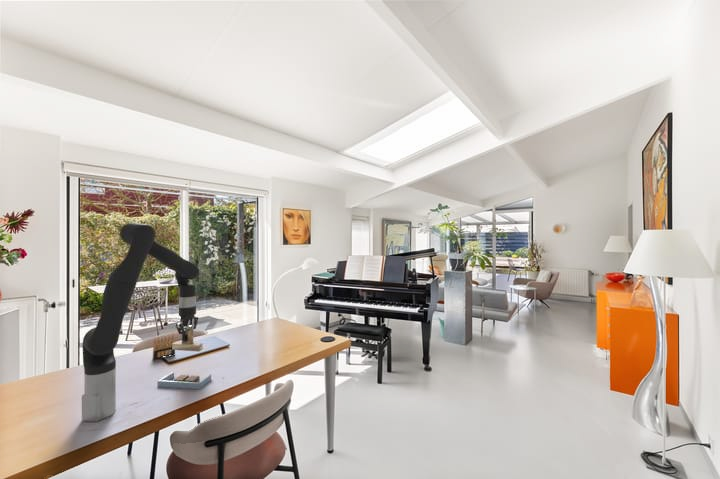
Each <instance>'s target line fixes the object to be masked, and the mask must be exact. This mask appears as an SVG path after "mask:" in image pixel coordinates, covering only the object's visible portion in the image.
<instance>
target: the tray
mask: <svg viewBox="0 0 720 479" xmlns="http://www.w3.org/2000/svg"><path fill="white" fill-rule="evenodd" d="M174 378H175V371H171V372H170V373H168V374H166V375H165V376H163V377H162V378H160V379H159V380H157V387H159V388H175V389H189V390H190V389H192V390H200V389H201V388H203V386H205V385H206V384H208V383H209V382H211V380H212V374H211V373H209V374H207V375H206V376H205V377H204V378H202V379H200V380H199V381H198V382H182V381H174V380H173V379H174Z"/></svg>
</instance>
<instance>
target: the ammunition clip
mask: <svg viewBox="0 0 720 479" xmlns="http://www.w3.org/2000/svg"><path fill="white" fill-rule="evenodd" d="M173 343H175V335H174V334H172V335H168V337H167V335H165V336H161V339H160V337H159V336H158V338H157V339H156V337H154V339H153V346H152V348H153V349H152V360H153V361H159V360H161V359H163V358H162V357H163V356H169V355H174V354H175V355H176V350H172V344H173ZM175 355H174V356H175Z"/></svg>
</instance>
